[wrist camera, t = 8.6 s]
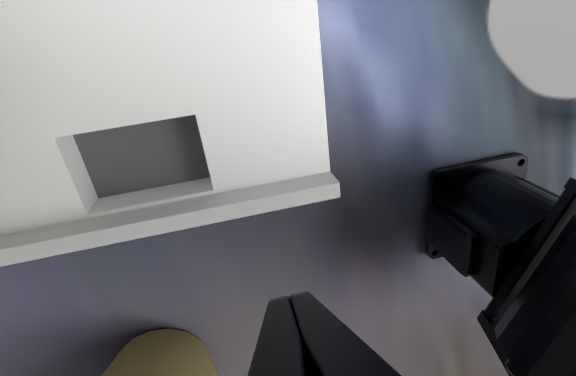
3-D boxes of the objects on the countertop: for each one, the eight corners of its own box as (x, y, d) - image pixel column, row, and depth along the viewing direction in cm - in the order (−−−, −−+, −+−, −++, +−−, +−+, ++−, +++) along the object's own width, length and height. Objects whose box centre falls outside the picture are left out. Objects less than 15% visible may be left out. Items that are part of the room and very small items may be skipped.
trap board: (286, -213, 13) (322, -335, 9) (321, 171, 20) (351, 211, 16) (-414, -173, 11) (-866, -319, 6) (-100, 252, 18) (-207, 328, 13)
